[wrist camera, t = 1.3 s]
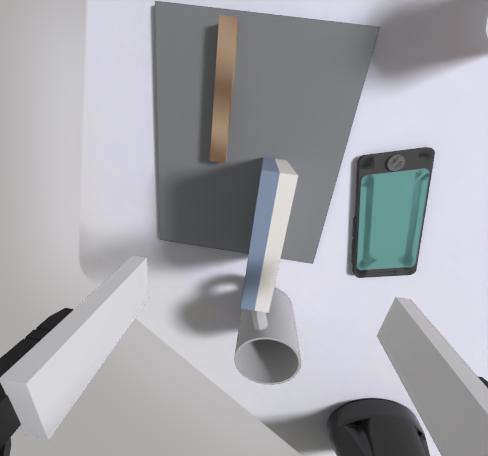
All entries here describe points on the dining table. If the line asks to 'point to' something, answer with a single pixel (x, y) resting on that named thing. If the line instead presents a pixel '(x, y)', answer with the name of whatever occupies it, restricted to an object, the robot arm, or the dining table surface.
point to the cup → (268, 343)
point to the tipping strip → (223, 86)
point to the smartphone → (390, 211)
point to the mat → (253, 121)
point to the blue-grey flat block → (268, 232)
